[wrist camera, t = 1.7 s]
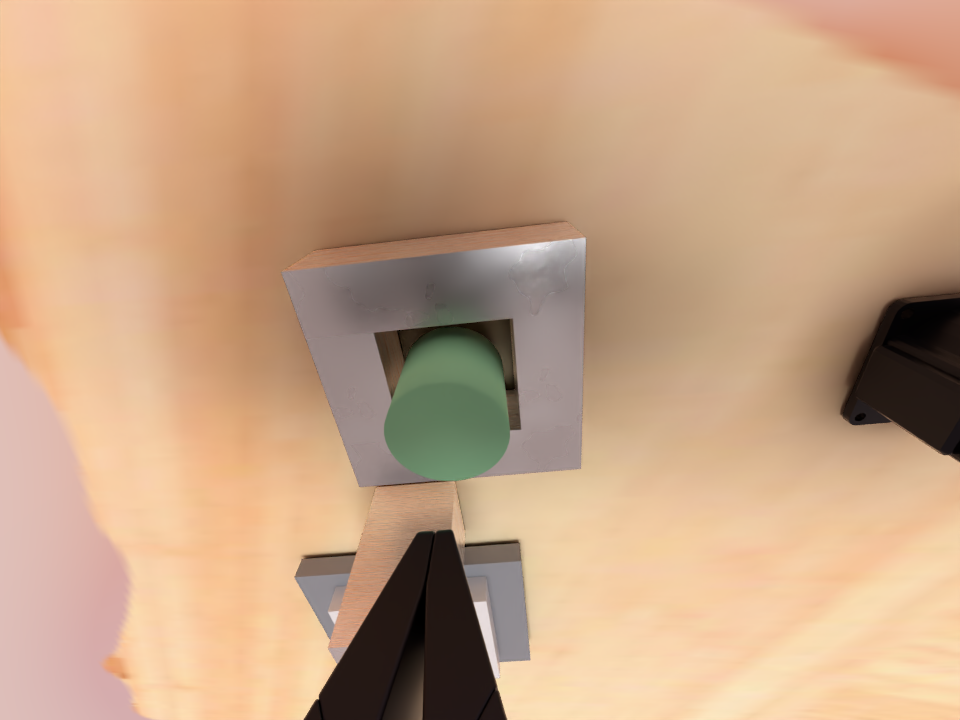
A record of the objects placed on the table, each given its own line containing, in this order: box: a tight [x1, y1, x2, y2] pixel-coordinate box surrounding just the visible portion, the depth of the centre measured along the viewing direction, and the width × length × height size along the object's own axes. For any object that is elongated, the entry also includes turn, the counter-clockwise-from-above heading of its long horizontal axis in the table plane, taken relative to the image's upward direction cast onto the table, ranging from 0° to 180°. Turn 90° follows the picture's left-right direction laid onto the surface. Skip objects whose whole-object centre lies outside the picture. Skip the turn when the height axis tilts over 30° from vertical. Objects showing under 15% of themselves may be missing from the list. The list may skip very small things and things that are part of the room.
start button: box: [384, 327, 510, 481], centre depth 14 cm, size 4×4×4 cm
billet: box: [328, 481, 465, 664], centre depth 19 cm, size 4×4×8 cm
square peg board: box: [281, 221, 586, 487], centre depth 16 cm, size 10×10×3 cm
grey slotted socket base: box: [295, 543, 530, 678], centre depth 26 cm, size 14×12×3 cm
